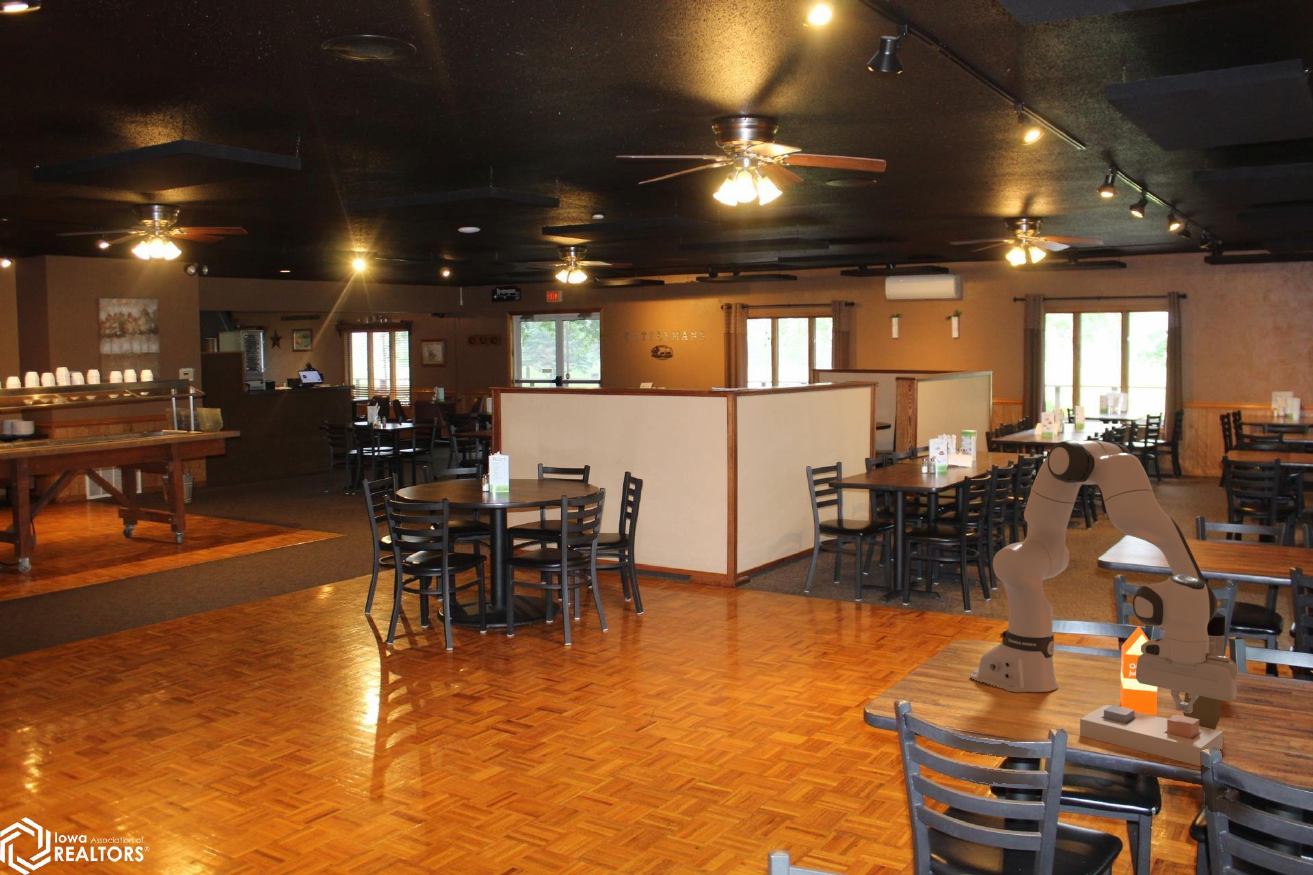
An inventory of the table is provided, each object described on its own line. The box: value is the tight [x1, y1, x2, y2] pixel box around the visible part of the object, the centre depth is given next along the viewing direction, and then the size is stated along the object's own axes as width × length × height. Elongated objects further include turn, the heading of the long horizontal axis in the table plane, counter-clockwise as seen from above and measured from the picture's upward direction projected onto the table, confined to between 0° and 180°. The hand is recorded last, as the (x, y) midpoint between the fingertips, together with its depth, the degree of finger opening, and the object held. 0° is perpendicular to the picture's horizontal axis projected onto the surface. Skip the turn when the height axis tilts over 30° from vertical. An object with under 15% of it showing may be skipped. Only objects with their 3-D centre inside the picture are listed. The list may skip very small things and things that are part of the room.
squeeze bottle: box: [1182, 693, 1222, 730], centre depth 244 cm, size 8×8×18 cm
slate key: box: [1104, 704, 1135, 724], centre depth 241 cm, size 5×5×4 cm
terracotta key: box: [1166, 713, 1199, 740], centre depth 231 cm, size 5×5×4 cm
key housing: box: [1079, 704, 1224, 767], centre depth 236 cm, size 26×14×4 cm, turn 44°
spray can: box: [1207, 611, 1226, 657], centre depth 274 cm, size 7×7×20 cm
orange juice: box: [1119, 625, 1158, 716], centre depth 259 cm, size 8×9×20 cm
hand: (1184, 711), depth 230 cm, fingers closed
